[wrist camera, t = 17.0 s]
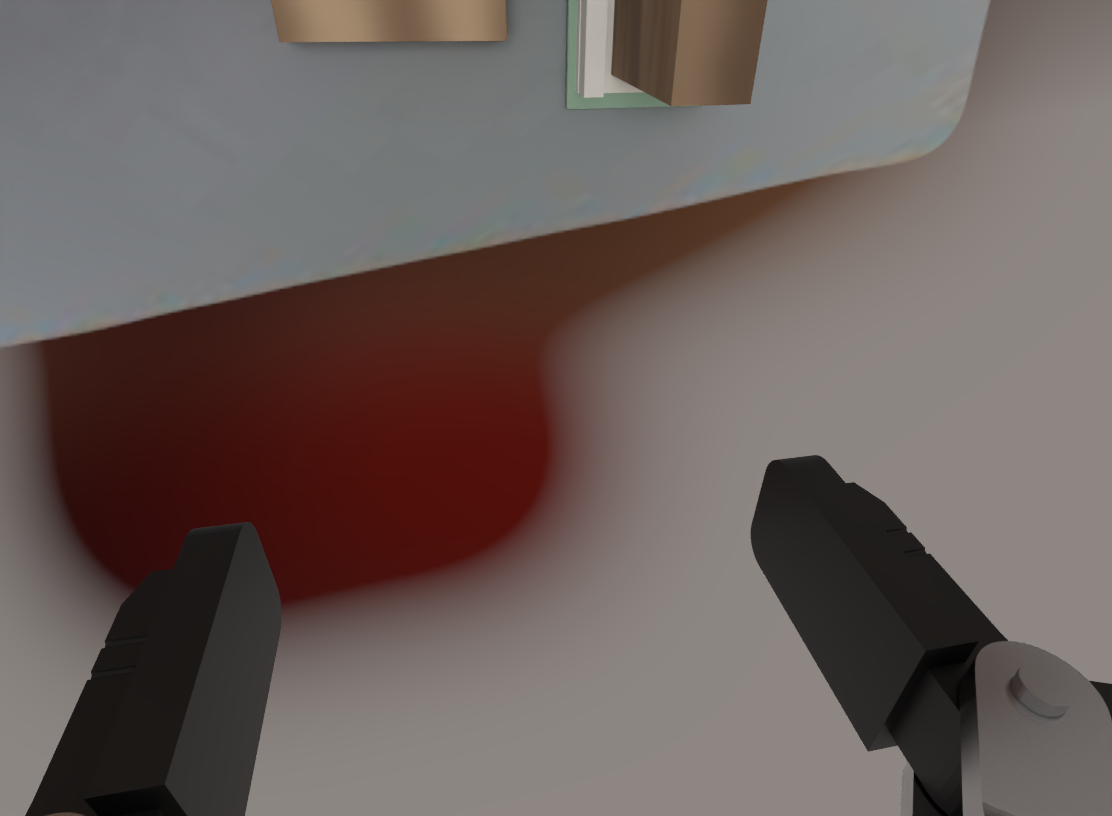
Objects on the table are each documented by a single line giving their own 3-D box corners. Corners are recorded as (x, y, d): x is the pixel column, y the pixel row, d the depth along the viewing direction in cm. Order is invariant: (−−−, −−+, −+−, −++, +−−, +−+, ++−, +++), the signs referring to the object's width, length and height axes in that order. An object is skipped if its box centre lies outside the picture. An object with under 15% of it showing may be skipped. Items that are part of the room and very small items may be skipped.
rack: (574, 91, 40) (583, 97, 38) (578, -68, 35) (588, -71, 33) (695, 89, 41) (709, 94, 39) (714, -66, 36) (731, -68, 34)
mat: (565, 108, 40) (566, 109, 40) (568, -91, 35) (570, -92, 34) (698, 104, 42) (701, 105, 41) (722, -87, 36) (725, -88, 36)
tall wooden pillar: (611, 74, 39) (671, 106, 30) (616, -47, 35) (686, -51, 26) (673, 73, 39) (750, 104, 30) (685, -46, 36) (775, -50, 27)
